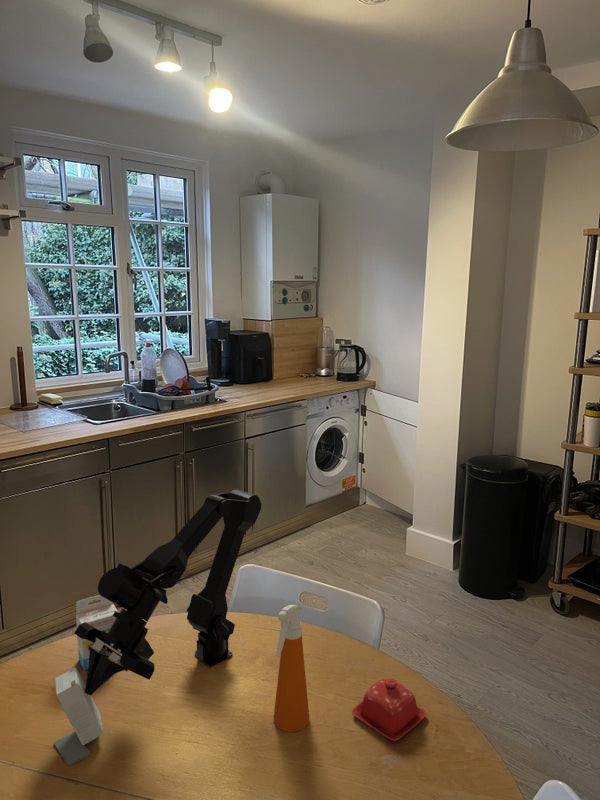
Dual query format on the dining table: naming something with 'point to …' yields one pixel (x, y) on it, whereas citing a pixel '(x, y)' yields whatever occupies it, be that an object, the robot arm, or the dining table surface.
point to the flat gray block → (71, 749)
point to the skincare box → (78, 706)
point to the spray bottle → (291, 674)
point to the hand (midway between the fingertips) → (87, 693)
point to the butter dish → (389, 709)
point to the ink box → (93, 622)
